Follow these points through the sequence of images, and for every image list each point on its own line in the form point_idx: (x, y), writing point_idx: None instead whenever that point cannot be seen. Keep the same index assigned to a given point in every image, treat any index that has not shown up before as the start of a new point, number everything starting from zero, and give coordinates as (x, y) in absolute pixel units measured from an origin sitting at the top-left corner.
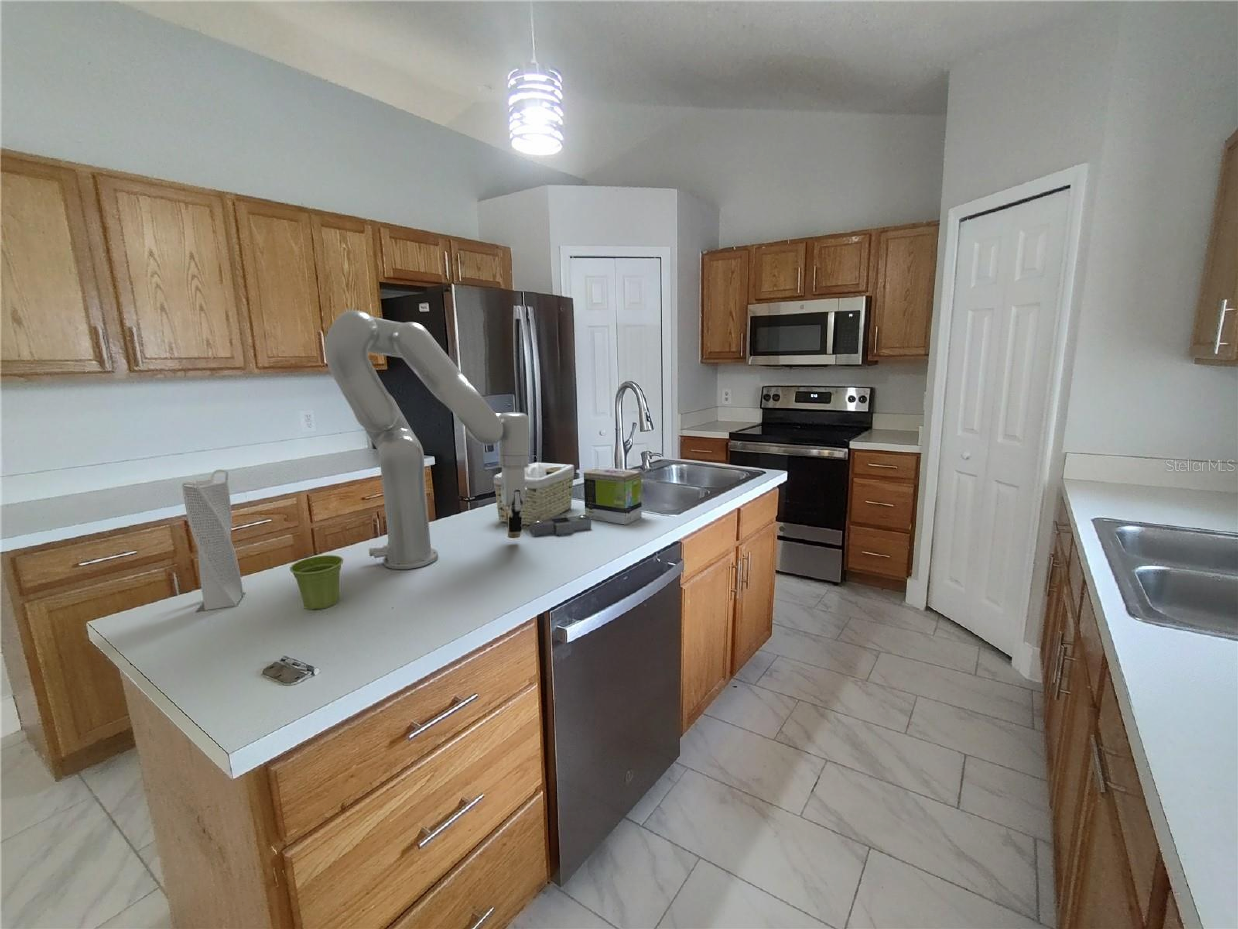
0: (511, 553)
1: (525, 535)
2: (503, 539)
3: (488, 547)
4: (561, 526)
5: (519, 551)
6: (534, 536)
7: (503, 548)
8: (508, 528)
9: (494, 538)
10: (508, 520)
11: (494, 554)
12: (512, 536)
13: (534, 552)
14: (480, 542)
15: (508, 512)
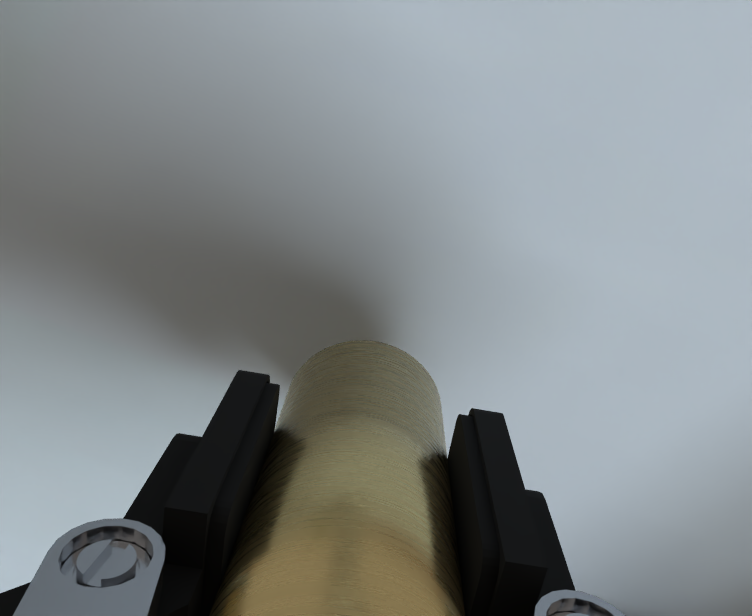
0: (114, 254)
1: (596, 558)
2: (619, 327)
3: (446, 82)
4: None
5: (138, 345)
6: None
7: (316, 229)
8: (336, 398)
9: (724, 248)
10: (320, 474)
11: (167, 73)
12: (293, 384)
13: (45, 456)
14: (694, 45)
15: (293, 593)
